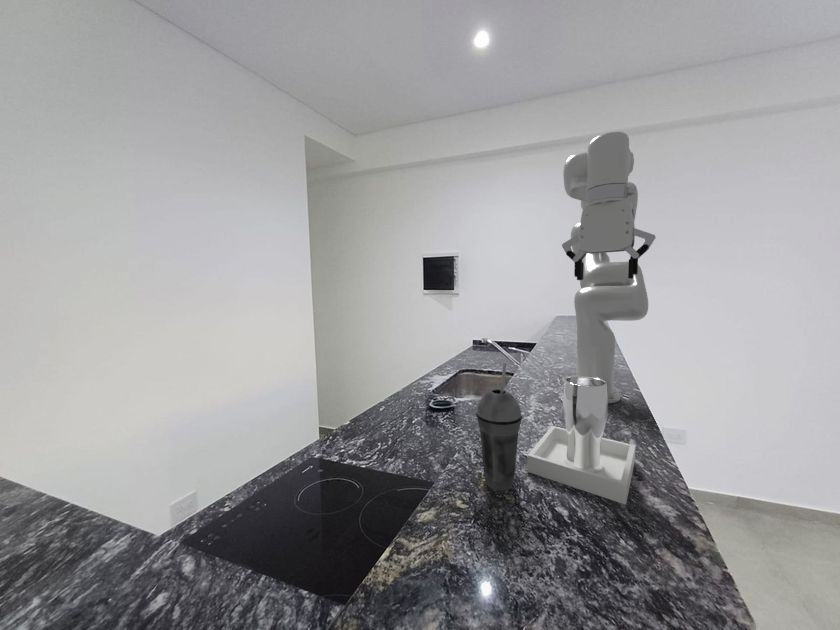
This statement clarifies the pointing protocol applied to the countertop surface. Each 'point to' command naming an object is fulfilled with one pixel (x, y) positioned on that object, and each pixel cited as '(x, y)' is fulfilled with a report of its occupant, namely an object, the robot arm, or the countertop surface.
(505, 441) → the beverage cup
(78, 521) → the countertop surface
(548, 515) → the countertop surface
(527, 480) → the countertop surface
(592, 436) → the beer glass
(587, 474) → the tray
